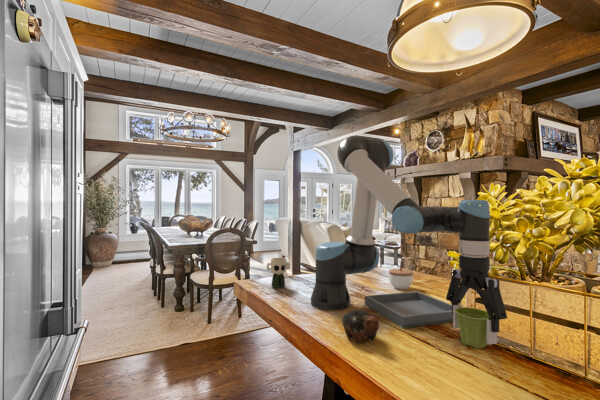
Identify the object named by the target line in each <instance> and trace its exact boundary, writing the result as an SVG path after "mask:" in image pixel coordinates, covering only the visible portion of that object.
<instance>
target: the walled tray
mask: <svg viewBox="0 0 600 400" xmlns="http://www.w3.org/2000/svg"><path fill="white" fill-rule="evenodd" d="M364 306H365V307H367V308H369V309H370V310H372V311H374V312H375V313H377V314H378V315H381V316H382V317H383V318H386V319H387V320H388V321H390V322H392V323H394V324H395V325H397V326H399V327H401V329H402V328H403V329H411V328H412V329H413V328H418V327H424V326H425V327H426V326H433V325H441V324H449V322H450V323H453V315H452V304H451V303H448V302H446V301H444V300H440V299H438V298H435V297H433V296H430V295H429V294H425V293H423V292H420V291H417V290H416V291H405V292H395V293H384V294H373V295H372V294H371V295H364Z"/></svg>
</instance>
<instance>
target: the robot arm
mask: <svg viewBox="0 0 600 400" xmlns="http://www.w3.org/2000/svg"><path fill="white" fill-rule="evenodd" d="M337 147H338V148H337V159H338V162H339V164H340V165H341V167H342V168H343V169H344V170H345V171H346V172H347V173H349V174H353V176H355V178H357V179H356V187H355V195H354V203H353V204H354V205H353V212H352V219H351V228H350V234H349V235H348V236H347V237H345V242H344V241H328V242H322V243H319V244H318V245H317V247H316V248H315V284H314V287H313V290H312V293H311V296H310V305H312V307H314V308H317V309H320V310H328V311H336V310H337V311H338V310H345V309H347V308H350V307H351V296H350V293H349V291H348V287H347V275H356V274H365V273H367V272H372V271H373V270H374V269H375V268H376V267H377V266H378V263H379V261H380V253H379V250H378V247H377V246H376V245H375V244H376V241H375V240H374V239H373V233H374V232H373V231H374V222H375V217H376V208H377V201H378V202H379V203H380V204H381V205H382V206H383V207H384V208H385V209H386V210H387V211H388V213H389V214H390V215H391V222H392V224H393V225H392V226H393V227H394V229H395V230H396V231H397V232H399V233H403V234H417V233H418V234H419V233H435V232H436V233H437V232H440V233H441V232H444V233H447V232H448V233H457V234H458V253H459V254H460V255H459V256H458V266H459V267H458V268H459V269H452V270H451V274H452V273H453V276H452V275H451V279H450V282H449V283H450V284H449V286H448V288H447V289H448V290H447V293H446V297H445V298H446V301H449V302H450V304H451V305H452V315H453V322H452V327H453V329H458V328H459V329H460V327H459V320H458V317H457V313H456V312H455V309H456V308H460V307H463V304H462V300H463V299H464V298H465V295H466V294H467V292H469V289H472V290H473V291H476V294H478V295H479V297H480V299H481V302H482V303H483V306H484V308H485V311H487V313H488V315H489V317H490V318H487V344H486V345H495V344H498V333H499V332H500V320H505V319H508V313H507V312H506V311H507V310H506V307H505V304H504V300H503V296H502V294H501V290H500V280H499V279H498V278H491V277H489V273H488V272H489V271H490V267H491V263H490V260H491V258H489V255H490V253H491V252H490V250H491V249H490V246H491V245H490V244H491V243H490V229H491V228H490V225H491V224H490V223H491V221H490V219H491V214H490V213H491V212H490V204H489V201H487V200H483V199H478V200H477V199H462V200H460V201H459V203H458V206H438V205H436V206H420V205H419V204H418V203H417V202H416V201H414V199H413V198H411V196H409V195H408V194H407V193H406V192H405V191H404V190H403V189H402V188H401V187H400V186H399V185H398V184H397V183H396V182H395V181H394V180H392V178H391V177H389V176H388V175H387V174H386V173H385V172H386V170H387V169H389V168H390V166H391V165H392V163H393V161H394V151H393V147H392V146H391V145H390V143H389V142H388V141H386V140H384V139H380V138H377V137H366V136H361V135H350V136H347V137H345V138H344V139H343V140H342V141H341V142H340V144H339V145H338V146H337ZM469 203H470V204H469ZM468 204H469V205H468ZM479 205H481V206H479ZM461 245H462V246H461ZM452 271H453V272H452ZM459 277H460V278H459Z"/></svg>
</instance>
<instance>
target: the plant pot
mask: <svg viewBox="0 0 600 400" xmlns="http://www.w3.org/2000/svg"><path fill="white" fill-rule="evenodd" d="M455 312H456V313H457V317H458V320H459V327H460V328H459V334H460V335H459V336H460V342H461V343H462V344H463V345H466V346H470V347H471V348H473V347H474V349H484V348H485V347H487V345H488V344H487V318H490V317H489V315H488V313H487V311H486V310H484V309H481V308H475V307H469V306H468V307H467V306H465V307H464V306H462V307H460V308H456V309H455Z"/></svg>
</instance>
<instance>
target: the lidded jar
mask: <svg viewBox="0 0 600 400" xmlns="http://www.w3.org/2000/svg"><path fill="white" fill-rule="evenodd" d="M388 270H389V271H388V273H389V274H388V277H389V283H390V284H391V286H392V287H393V288H394V289H395V290H399V291H400V290H403V291H404V290H409V289H408V288H410V287H411V286H412V283H413V281H414V280H413V279H414V271H412V270H410V269H405V268H404V269H403V267H399V268H392V269H388Z"/></svg>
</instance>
